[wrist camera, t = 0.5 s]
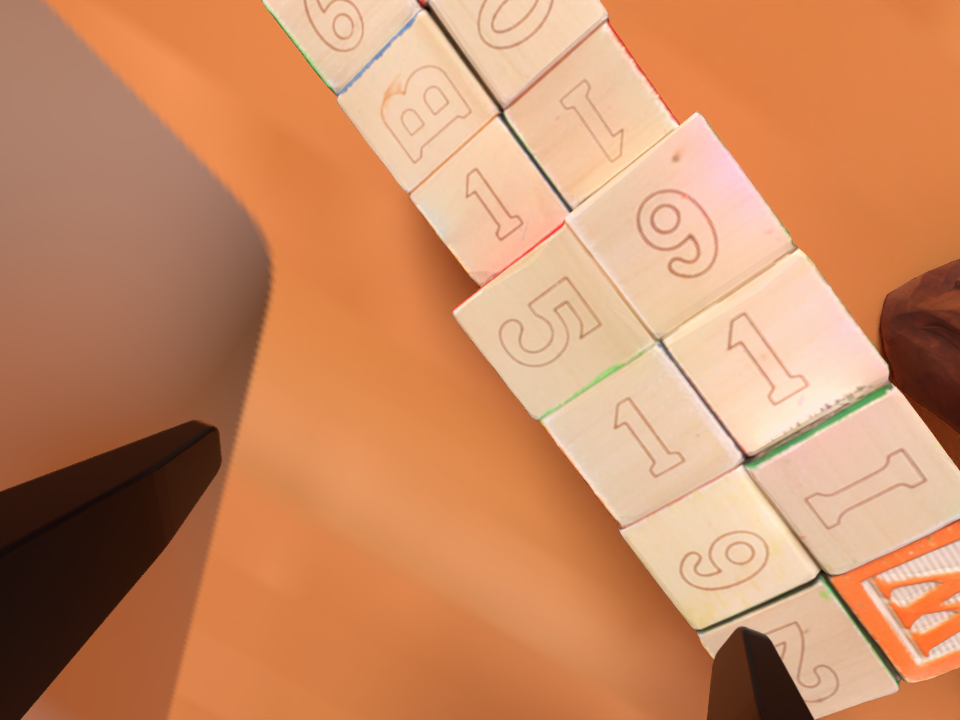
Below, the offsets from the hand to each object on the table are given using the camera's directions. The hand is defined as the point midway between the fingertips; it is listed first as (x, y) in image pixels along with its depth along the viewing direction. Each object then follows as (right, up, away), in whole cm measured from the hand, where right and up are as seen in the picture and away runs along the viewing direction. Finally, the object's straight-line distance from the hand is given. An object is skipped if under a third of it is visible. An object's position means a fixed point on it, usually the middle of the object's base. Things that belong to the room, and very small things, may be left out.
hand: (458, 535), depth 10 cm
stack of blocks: (+6, +8, +13) cm, 16 cm away
